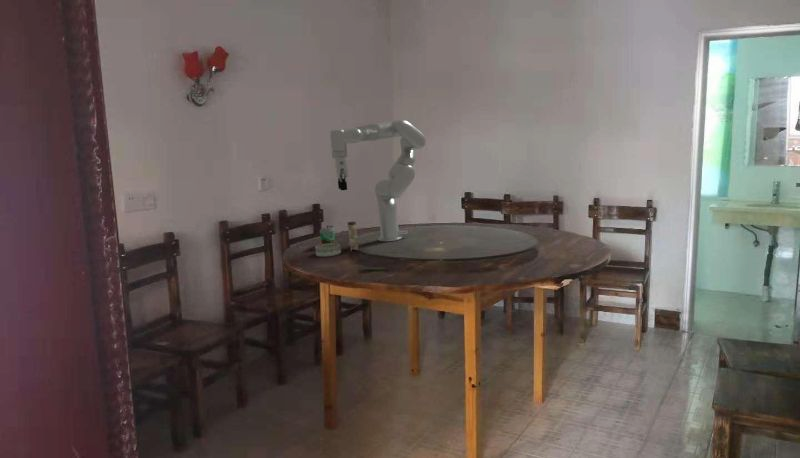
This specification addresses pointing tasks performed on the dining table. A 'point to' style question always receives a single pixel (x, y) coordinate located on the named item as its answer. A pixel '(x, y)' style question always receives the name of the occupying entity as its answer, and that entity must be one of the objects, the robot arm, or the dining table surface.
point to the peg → (352, 235)
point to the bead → (328, 249)
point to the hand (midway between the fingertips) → (342, 189)
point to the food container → (327, 235)
